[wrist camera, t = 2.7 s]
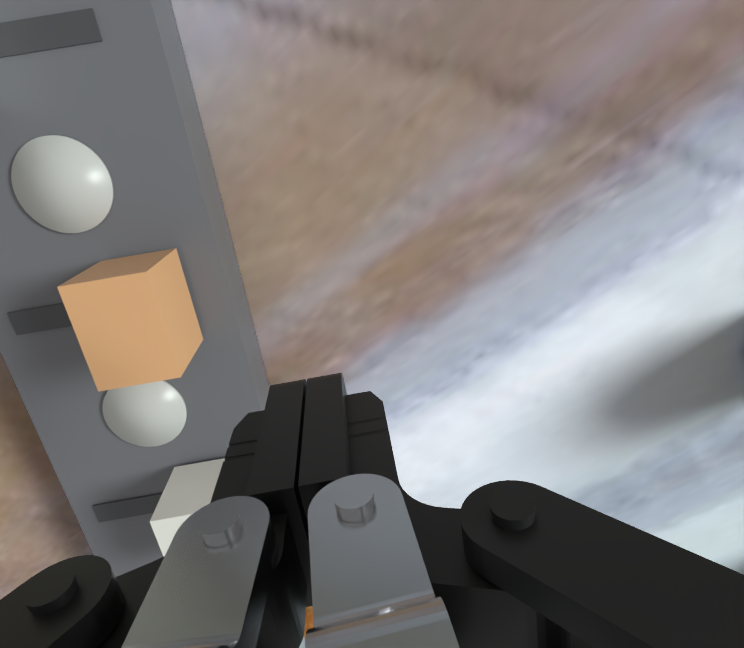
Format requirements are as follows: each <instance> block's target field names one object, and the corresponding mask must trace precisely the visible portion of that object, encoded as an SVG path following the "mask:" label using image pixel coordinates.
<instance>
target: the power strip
mask: <svg viewBox="0 0 744 648" xmlns="http://www.w3.org/2000/svg"><path fill="white" fill-rule="evenodd" d="M174 248H176V249H177V253H178V256H179V259H180V263H181V266H182V269H183V273H184V276H185V279H186V283H187V286H188V290H189V293H190V296H191V300H192V303H193V306H194V310H195V313H196V316H197V320H198V323H199V326H200V330H201V333H202V337H203V341H202V342H201V344H200V346H199V348H198V349H197V351H196V353H195V354H194V356H193V358H192V359H191V361H190V363H189V364H188V366H187V368H186V369H185V371H184V373H183V374H182V376H181V377H180V378H174V379H169V380H163V381H157V382H151V383H146V384H140V385H134V386H128V387H122V388H117V389H111V390H105V391H99V392H98V390H97V387H96V384H95V382H94V379H93V377H92V374H91V372H90V369H89V367H88V364H87V362H86V359H85V357H84V354H83V352H82V349H81V346H80V344H79V341H78V339H77V336H76V334H75V331H74V329H73V326H72V324H71V321H70V319H69V316H68V313H67V311H66V308H65V306H64V303H63V301H62V298H61V296H60V293H59V291H58V288H57V287H58V286H59V285H61V284H63V283H64V282H66V281H68V280H70V279H71V278H73V277H75V276H76V275H78V274H80V273H81V272H83V271H85V270H87V269H88V268H90V267H92V266H93V265H95V264H97V263H98V262H100V261H103V260H109V259H115V258H121V257H127V256H132V255H138V254H144V253H150V252H156V251H162V250H168V249H174ZM0 352H1V354H2V357H3V359H4V361H5V363H6V365H7V368H8V370H9V372H10V374H11V376H12V378H13V381H14V383H15V385H16V387H17V389H18V392H19V394H20V396H21V398H22V400H23V402H24V405H25V407H26V409H27V411H28V413H29V416H30V418H31V420H32V422H33V424H34V426H35V429H36V431H37V433H38V435H39V437H40V440H41V442H42V444H43V446H44V448H45V450H46V453H47V455H48V457H49V459H50V461H51V464H52V466H53V468H54V470H55V472H56V474H57V477H58V479H59V481H60V483H61V485H62V488H63V490H64V492H65V494H66V496H67V498H68V501H69V503H70V505H71V507H72V509H73V512H74V514H75V516H76V518H77V520H78V522H79V525H80V527H81V529H82V531H83V533H84V536H85V538H86V540H87V542H88V544H89V546H90V549H91V551H92V553H93V555H94V556H99V557H102V558H104V559H105V560H107V561H108V562H109V564H110V566H111V568H112V570H113V572H114V575H115V577H117V576H119V575H122V574H124V573H127V572H129V571H131V570H134V569H136V568H139V567H141V566H143V565H146V564H148V563H150V562H153V561H155V560H157V559H159V558H162V557H163V554H162V552H161V549H160V547H159V544H158V542H157V539H156V537H155V534H154V532H153V529H152V526H151V524H150V520H151V517H152V515H153V513H154V511H155V509H156V506H157V504H158V502H159V500H160V498H161V495H162V493H163V491H164V489H165V487H166V485H167V482H168V480H169V478H170V476H171V474H172V471H173V469H174V467H177V466H183V465H188V464H194V463H200V462H206V461H211V460H217V459H223V458H225V455H226V451H227V448H229V442H230V439H231V436H232V433H233V429H234V428H235V427H236V425H237V424H238V423H239V422H240V421H241V420H242V419H243V418H244V417H245V416H246V415H247V414H248V413H250V412H256V411H262V410H265V405H266V401H267V397H268V392H269V388H270V387H269V383H268V379H267V375H266V371H265V367H264V363H263V359H262V356H261V352H260V348H259V344H258V340H257V336H256V332H255V328H254V324H253V320H252V317H251V313H250V309H249V305H248V301H247V297H246V293H245V289H244V285H243V281H242V278H241V274H240V270H239V266H238V262H237V258H236V254H235V250H234V246H233V242H232V239H231V235H230V231H229V227H228V223H227V219H226V215H225V211H224V207H223V203H222V199H221V196H220V192H219V188H218V184H217V180H216V176H215V172H214V168H213V164H212V160H211V157H210V153H209V149H208V145H207V141H206V137H205V133H204V129H203V125H202V121H201V118H200V114H199V110H198V106H197V102H196V98H195V94H194V90H193V86H192V82H191V79H190V75H189V71H188V67H187V63H186V59H185V55H184V51H183V47H182V43H181V40H180V36H179V32H178V28H177V24H176V20H175V16H174V12H173V8H172V4H171V1H170V0H0Z"/></svg>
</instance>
